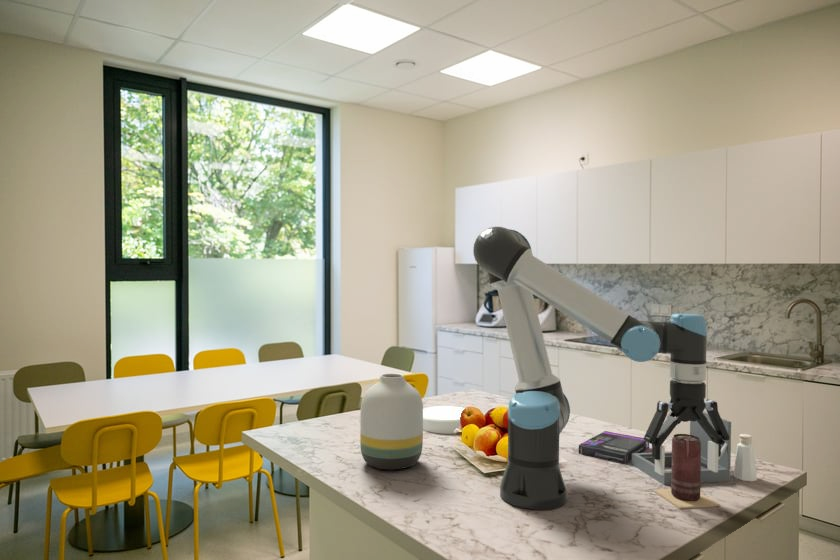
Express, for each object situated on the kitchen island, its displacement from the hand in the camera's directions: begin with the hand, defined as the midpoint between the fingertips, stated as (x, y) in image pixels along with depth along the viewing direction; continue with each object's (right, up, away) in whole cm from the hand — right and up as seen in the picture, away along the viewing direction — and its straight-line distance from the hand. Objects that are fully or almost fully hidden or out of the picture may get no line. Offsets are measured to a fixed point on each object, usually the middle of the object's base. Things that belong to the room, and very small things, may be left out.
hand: (686, 471), depth 130 cm
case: (+6, -6, +17) cm, 19 cm away
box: (-4, -7, +35) cm, 36 cm away
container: (-53, -6, +61) cm, 81 cm away
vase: (-70, -6, +22) cm, 73 cm away
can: (0, -6, 0) cm, 6 cm away
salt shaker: (+22, -7, +14) cm, 27 cm away
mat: (0, -6, 0) cm, 6 cm away
